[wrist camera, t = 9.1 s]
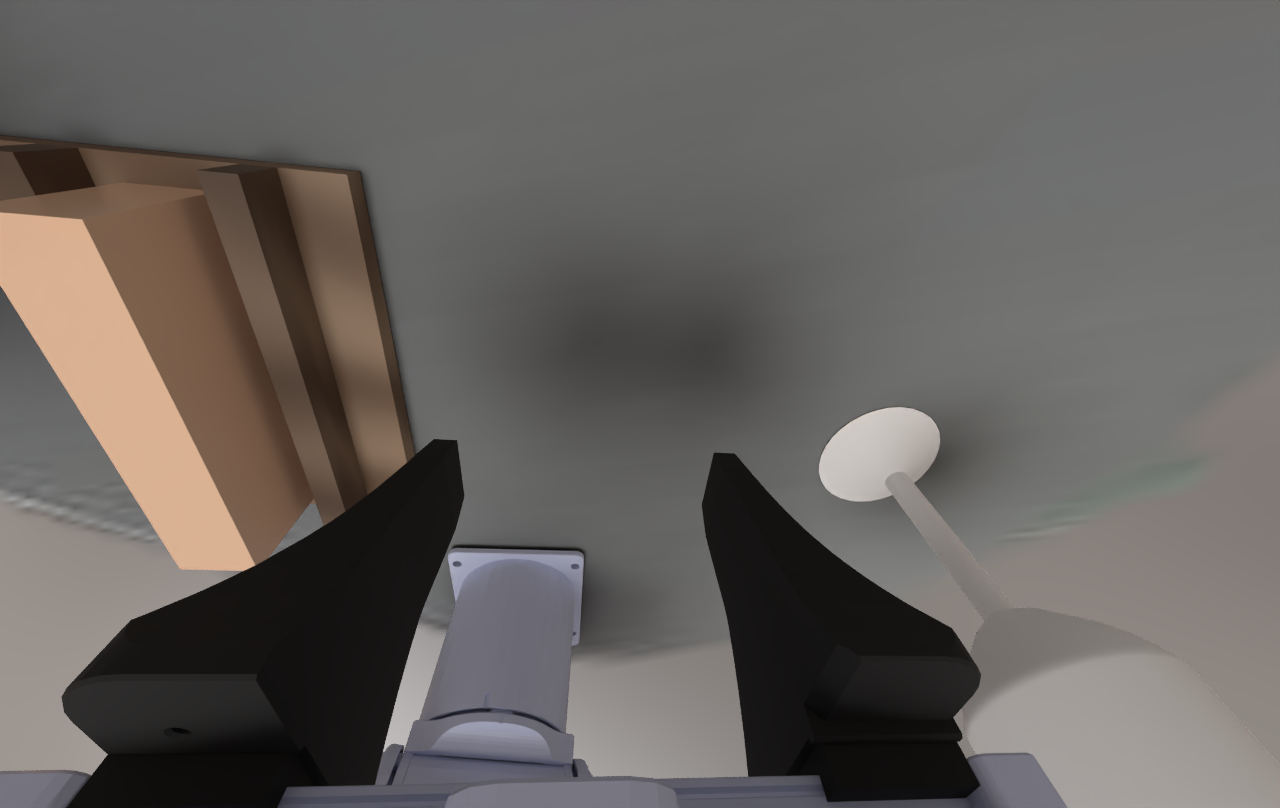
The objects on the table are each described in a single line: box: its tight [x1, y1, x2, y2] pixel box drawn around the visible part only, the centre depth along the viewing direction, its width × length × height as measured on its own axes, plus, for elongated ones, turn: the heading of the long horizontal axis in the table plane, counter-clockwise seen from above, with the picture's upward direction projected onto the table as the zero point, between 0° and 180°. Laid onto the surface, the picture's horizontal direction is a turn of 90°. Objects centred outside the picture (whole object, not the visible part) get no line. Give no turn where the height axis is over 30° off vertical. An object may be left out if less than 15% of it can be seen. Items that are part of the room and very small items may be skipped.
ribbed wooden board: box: [0, 135, 415, 525], centre depth 20 cm, size 16×12×3 cm
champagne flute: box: [819, 407, 1280, 808], centre depth 16 cm, size 7×7×24 cm
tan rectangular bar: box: [0, 183, 314, 571], centre depth 18 cm, size 14×3×5 cm, turn 174°
